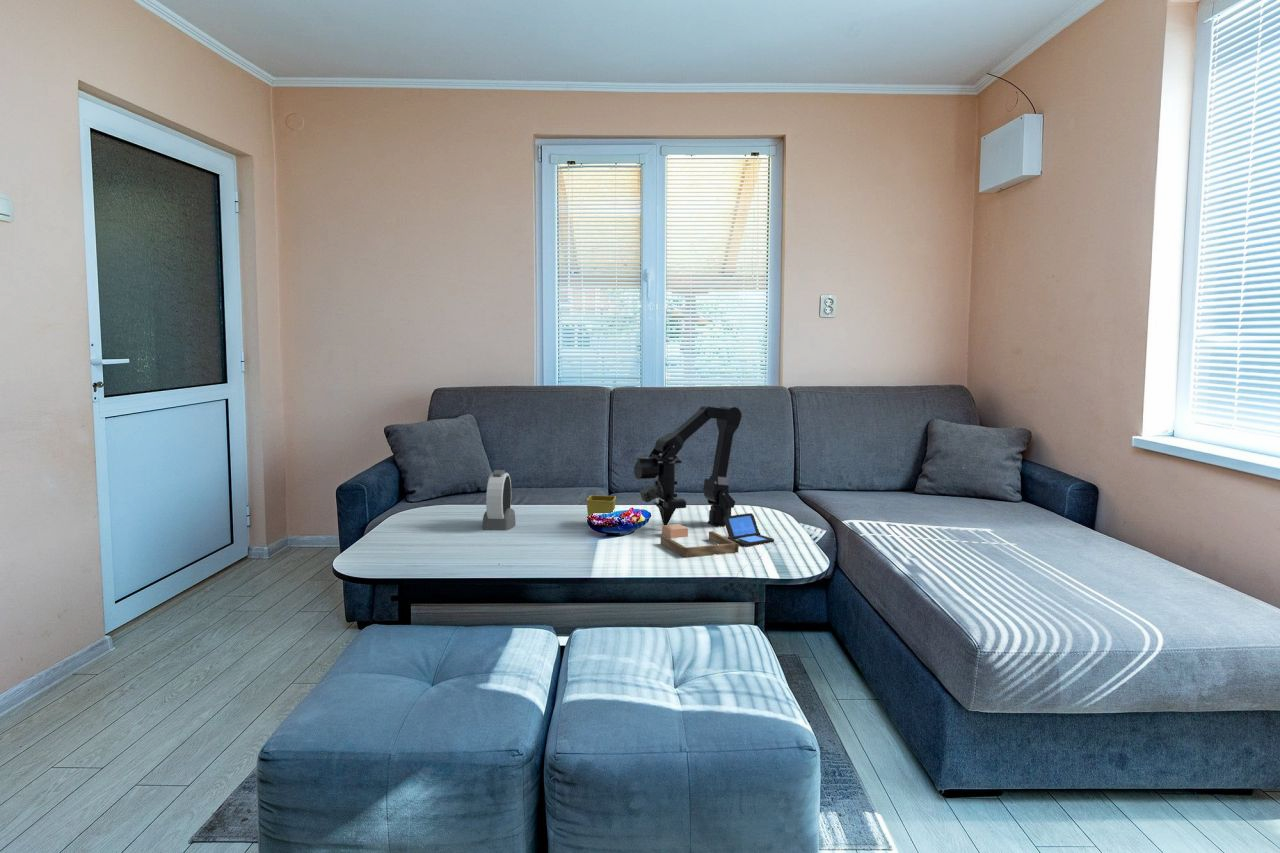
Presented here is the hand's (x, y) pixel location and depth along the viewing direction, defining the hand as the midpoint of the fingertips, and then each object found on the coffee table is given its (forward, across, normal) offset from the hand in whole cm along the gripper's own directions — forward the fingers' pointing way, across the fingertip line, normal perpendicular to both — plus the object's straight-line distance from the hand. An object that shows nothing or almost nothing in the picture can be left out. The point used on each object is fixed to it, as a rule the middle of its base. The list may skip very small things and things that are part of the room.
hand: (665, 525), depth 252 cm
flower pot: (+2, -14, -17) cm, 22 cm away
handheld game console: (+2, +21, +19) cm, 28 cm away
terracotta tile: (+2, +8, 0) cm, 8 cm away
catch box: (+2, +24, 0) cm, 24 cm away
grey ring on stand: (+2, -22, -49) cm, 54 cm away
